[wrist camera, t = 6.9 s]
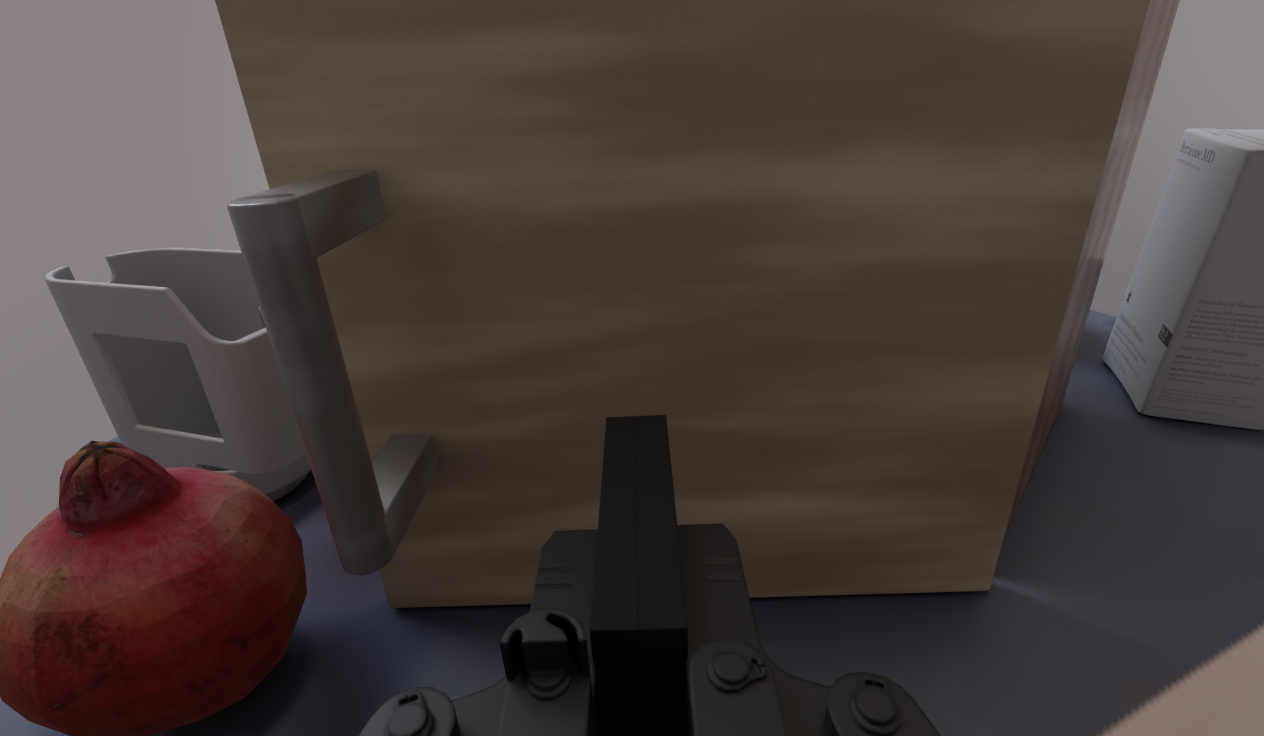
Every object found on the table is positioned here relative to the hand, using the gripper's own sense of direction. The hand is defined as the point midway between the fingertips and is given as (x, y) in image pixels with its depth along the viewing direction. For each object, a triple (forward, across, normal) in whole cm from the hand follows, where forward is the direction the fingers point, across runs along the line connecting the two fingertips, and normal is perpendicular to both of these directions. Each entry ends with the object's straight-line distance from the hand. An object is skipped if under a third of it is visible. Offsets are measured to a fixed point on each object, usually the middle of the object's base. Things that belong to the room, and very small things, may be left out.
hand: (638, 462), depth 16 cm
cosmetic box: (+20, +33, -10) cm, 39 cm away
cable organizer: (+14, -21, -10) cm, 27 cm away
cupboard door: (+3, +1, -10) cm, 10 cm away
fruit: (+2, -16, -10) cm, 19 cm away
